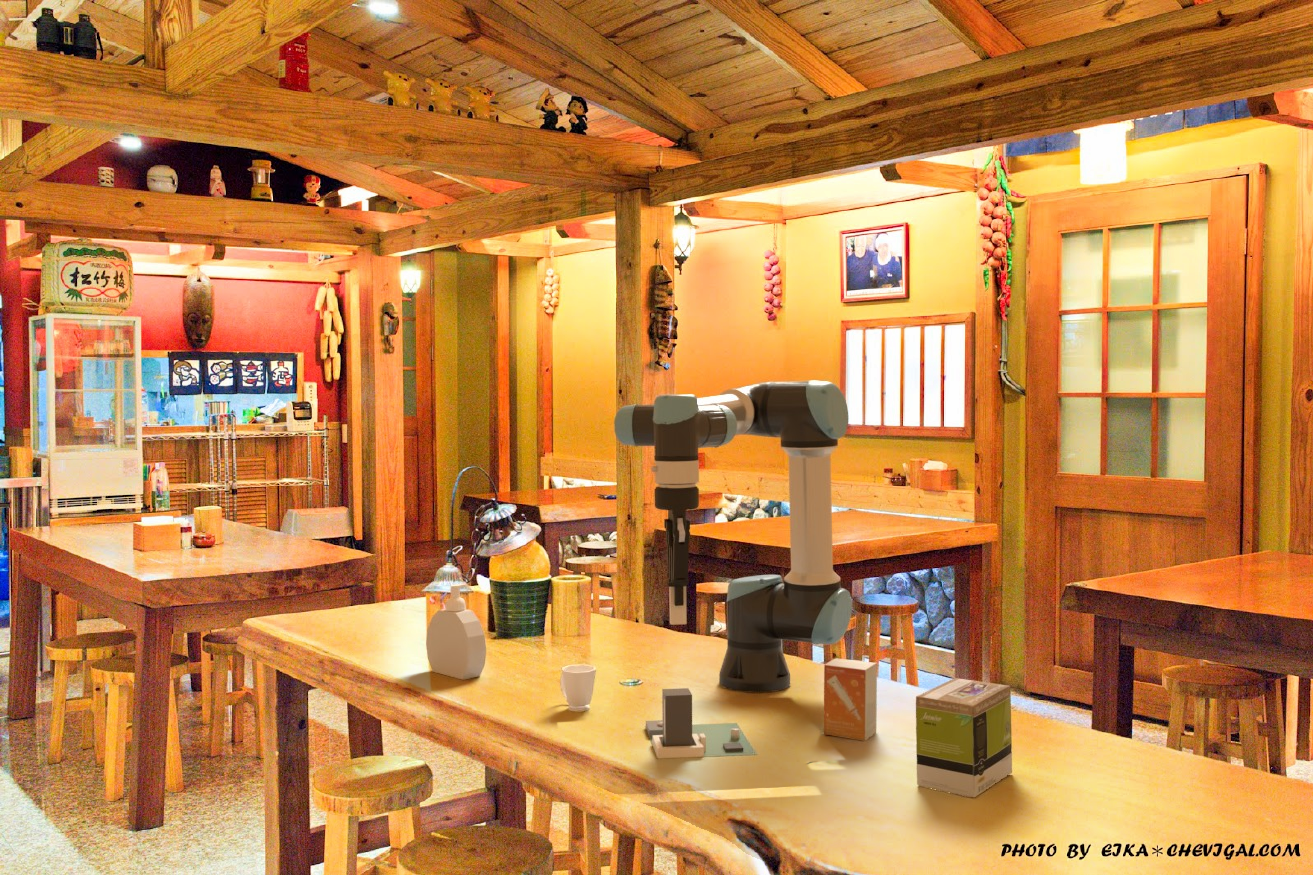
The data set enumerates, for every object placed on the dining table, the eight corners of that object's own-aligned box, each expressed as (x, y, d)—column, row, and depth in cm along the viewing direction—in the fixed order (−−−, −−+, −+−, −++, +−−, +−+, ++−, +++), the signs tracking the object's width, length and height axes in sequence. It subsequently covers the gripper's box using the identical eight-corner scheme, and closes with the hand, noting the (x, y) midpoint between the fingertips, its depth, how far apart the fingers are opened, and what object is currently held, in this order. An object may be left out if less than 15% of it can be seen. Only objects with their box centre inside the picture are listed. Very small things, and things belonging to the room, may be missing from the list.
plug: (688, 745, 198) (688, 688, 198) (692, 753, 194) (692, 694, 194) (662, 746, 198) (662, 689, 198) (665, 754, 193) (665, 695, 193)
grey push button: (678, 733, 210) (678, 718, 210) (685, 748, 201) (685, 733, 201) (645, 734, 210) (645, 719, 209) (651, 750, 200) (651, 734, 200)
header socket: (701, 742, 200) (701, 728, 200) (708, 756, 193) (708, 742, 193) (652, 744, 199) (652, 730, 199) (657, 758, 192) (657, 744, 192)
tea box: (955, 762, 193) (955, 675, 192) (1013, 775, 186) (1014, 684, 186) (914, 786, 181) (914, 693, 181) (974, 800, 175) (975, 704, 174)
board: (736, 729, 212) (736, 714, 212) (757, 761, 194) (757, 745, 193) (645, 732, 211) (645, 717, 210) (657, 765, 192) (657, 749, 192)
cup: (573, 715, 222) (572, 674, 222) (547, 704, 230) (546, 664, 230) (603, 709, 226) (603, 669, 226) (576, 699, 235) (576, 659, 234)
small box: (823, 735, 209) (823, 664, 208) (835, 726, 214) (835, 657, 214) (865, 741, 205) (865, 669, 204) (877, 732, 210) (877, 662, 210)
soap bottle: (488, 677, 253) (487, 587, 252) (469, 682, 249) (468, 590, 248) (445, 666, 264) (444, 580, 263) (425, 670, 260) (424, 582, 259)
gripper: (650, 482, 201) (651, 616, 202) (659, 489, 188) (660, 632, 189) (692, 481, 201) (694, 615, 202) (704, 488, 188) (705, 630, 189)
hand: (678, 623), depth 196 cm, fingers closed
